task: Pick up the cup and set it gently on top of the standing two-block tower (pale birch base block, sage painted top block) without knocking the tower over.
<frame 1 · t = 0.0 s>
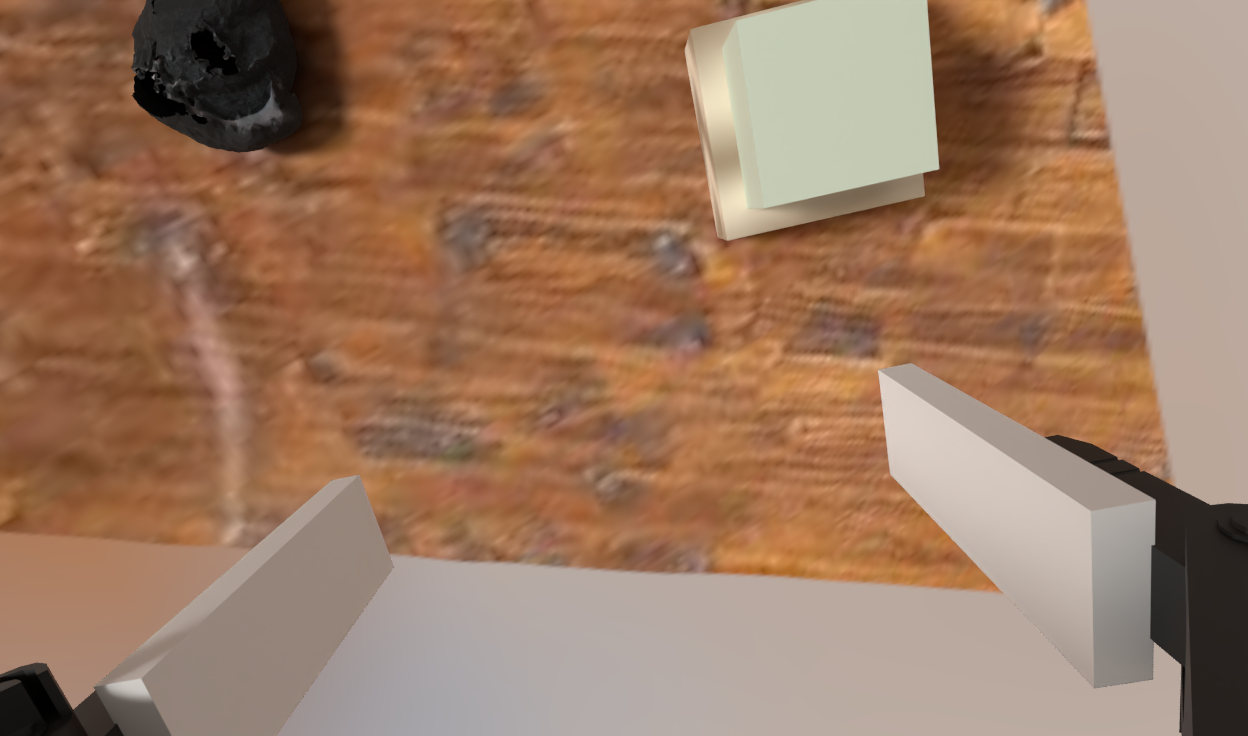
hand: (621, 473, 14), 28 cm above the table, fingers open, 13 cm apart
tower top: (811, 113, 33), point 5 cm above the table
rock: (239, 64, 38), on the table
tower base: (789, 127, 38), on the table
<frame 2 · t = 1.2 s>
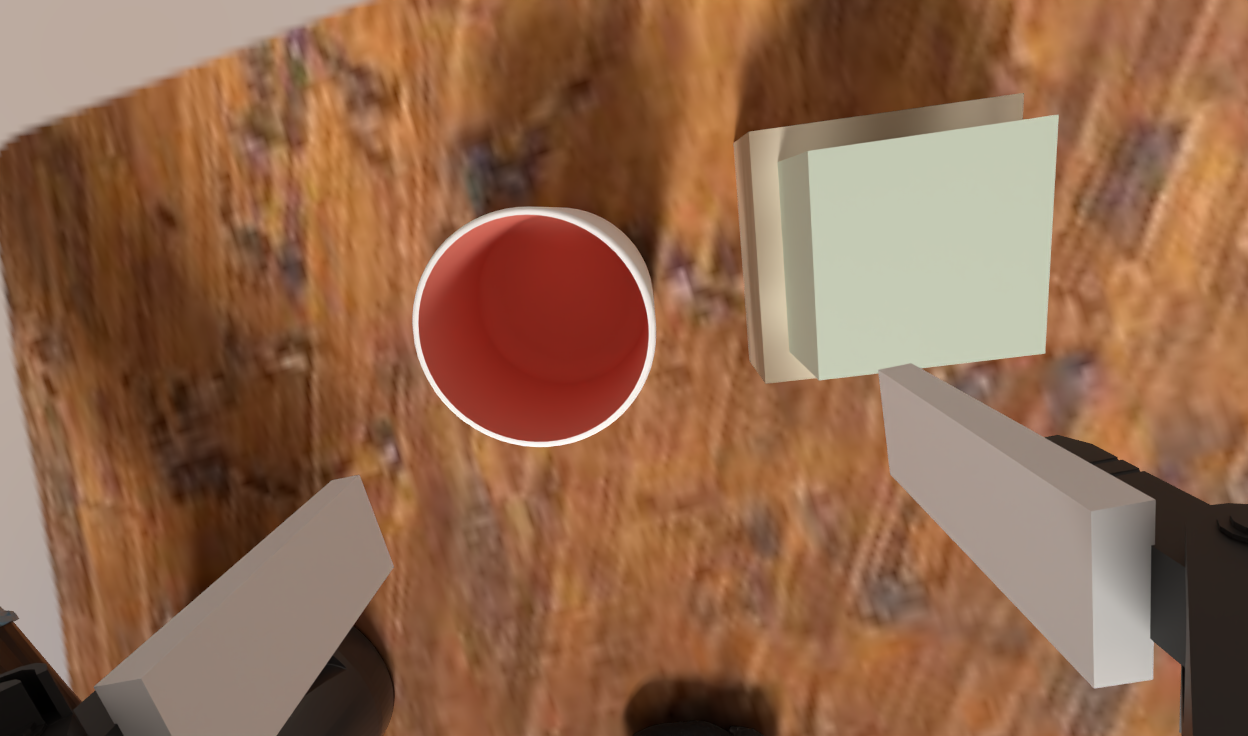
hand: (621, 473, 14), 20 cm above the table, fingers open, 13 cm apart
cup: (566, 297, 33), on the table
tower top: (879, 248, 27), point 5 cm above the table, touching tower base
tower base: (848, 242, 32), on the table, touching tower top
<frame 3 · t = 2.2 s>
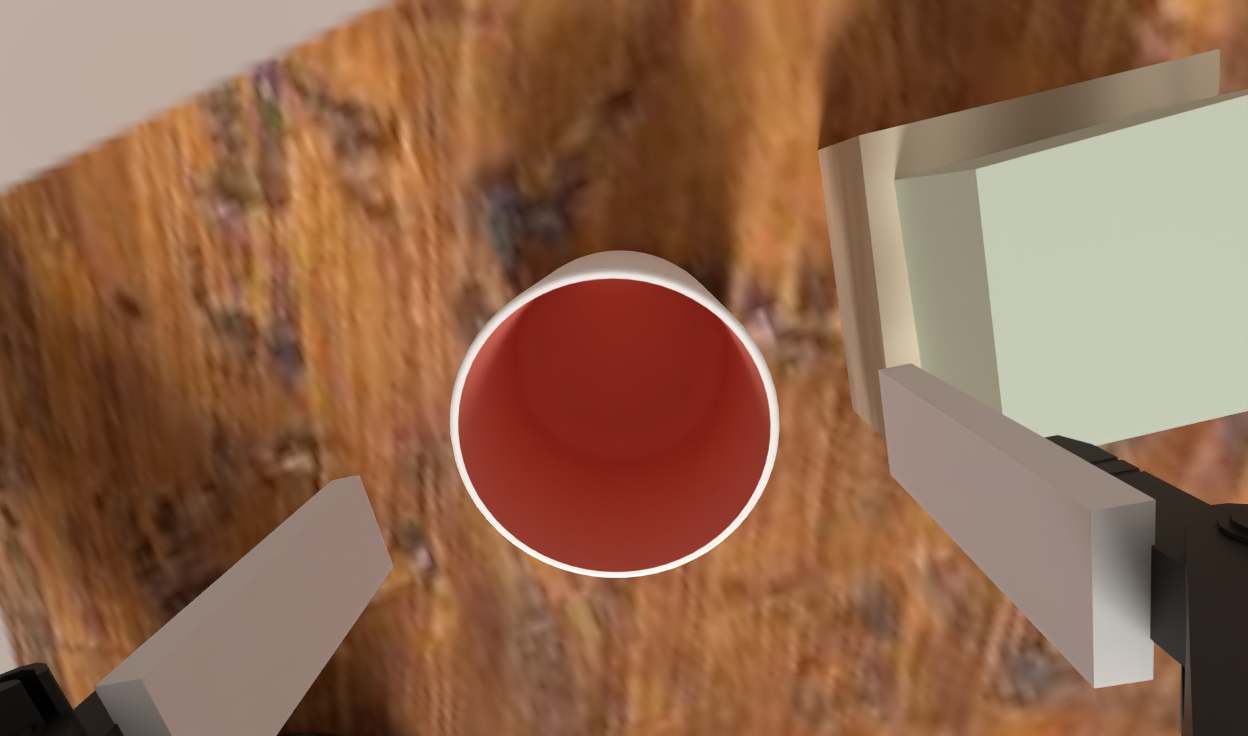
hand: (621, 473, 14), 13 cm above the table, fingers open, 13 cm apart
cup: (621, 356, 27), on the table
tower top: (1035, 270, 21), point 5 cm above the table
tower base: (966, 257, 26), on the table
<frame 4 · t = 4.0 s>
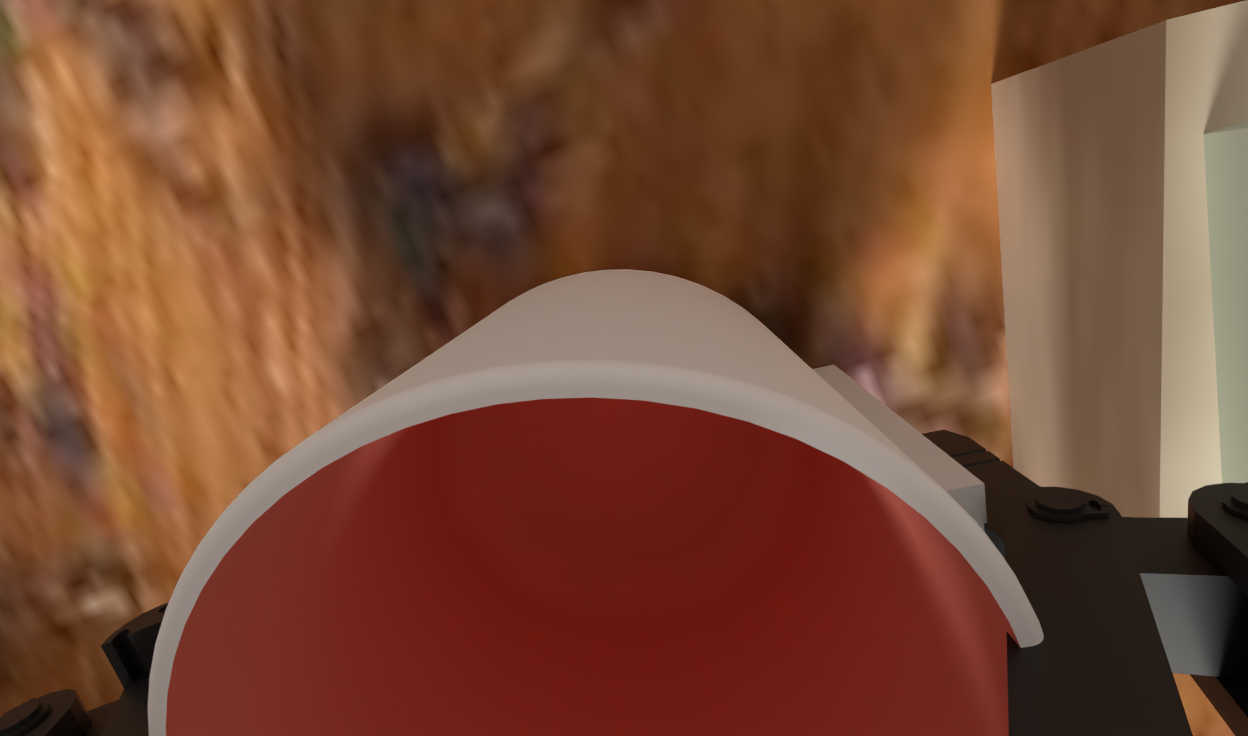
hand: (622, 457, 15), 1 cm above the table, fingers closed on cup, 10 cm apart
cup: (623, 443, 16), on the table, touching gripper
tower base: (1237, 278, 15), on the table, touching tower top
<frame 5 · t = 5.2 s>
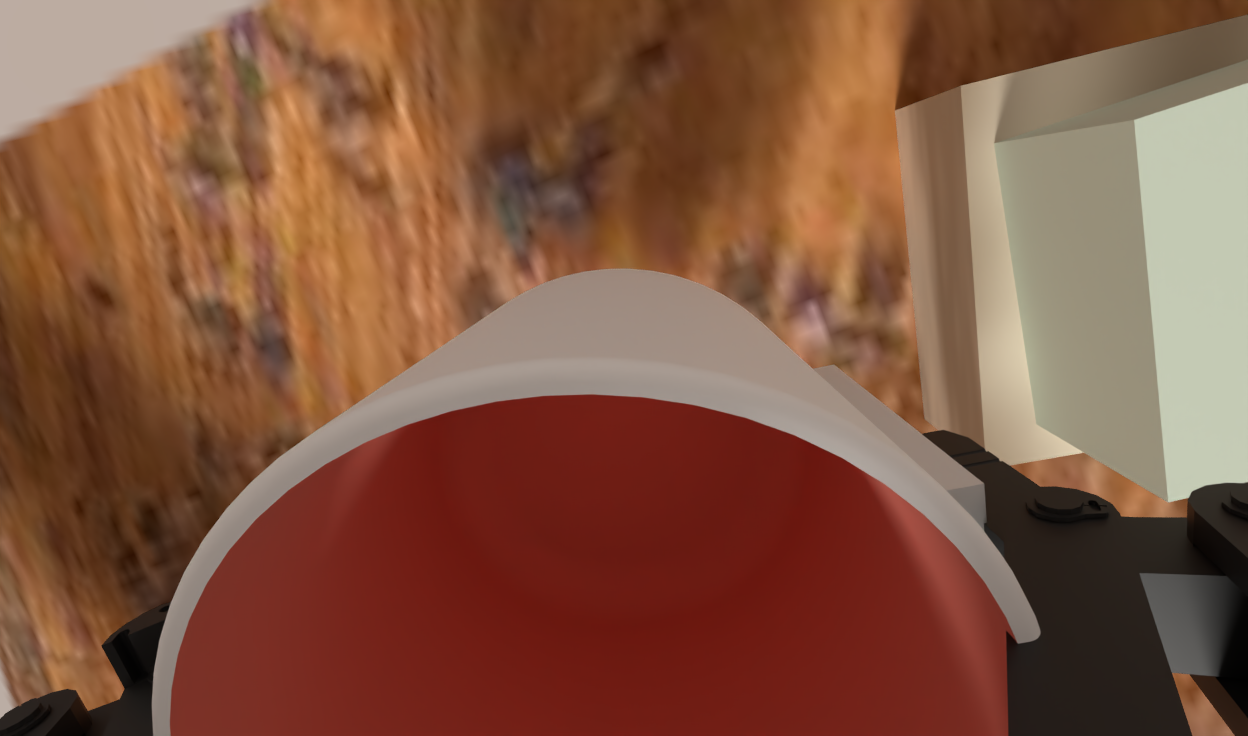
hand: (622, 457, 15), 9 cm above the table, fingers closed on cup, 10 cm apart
cup: (623, 442, 16), point 8 cm above the table, touching gripper
tower top: (1176, 246, 17), point 5 cm above the table, touching tower base
tower base: (1070, 239, 22), on the table, touching tower top
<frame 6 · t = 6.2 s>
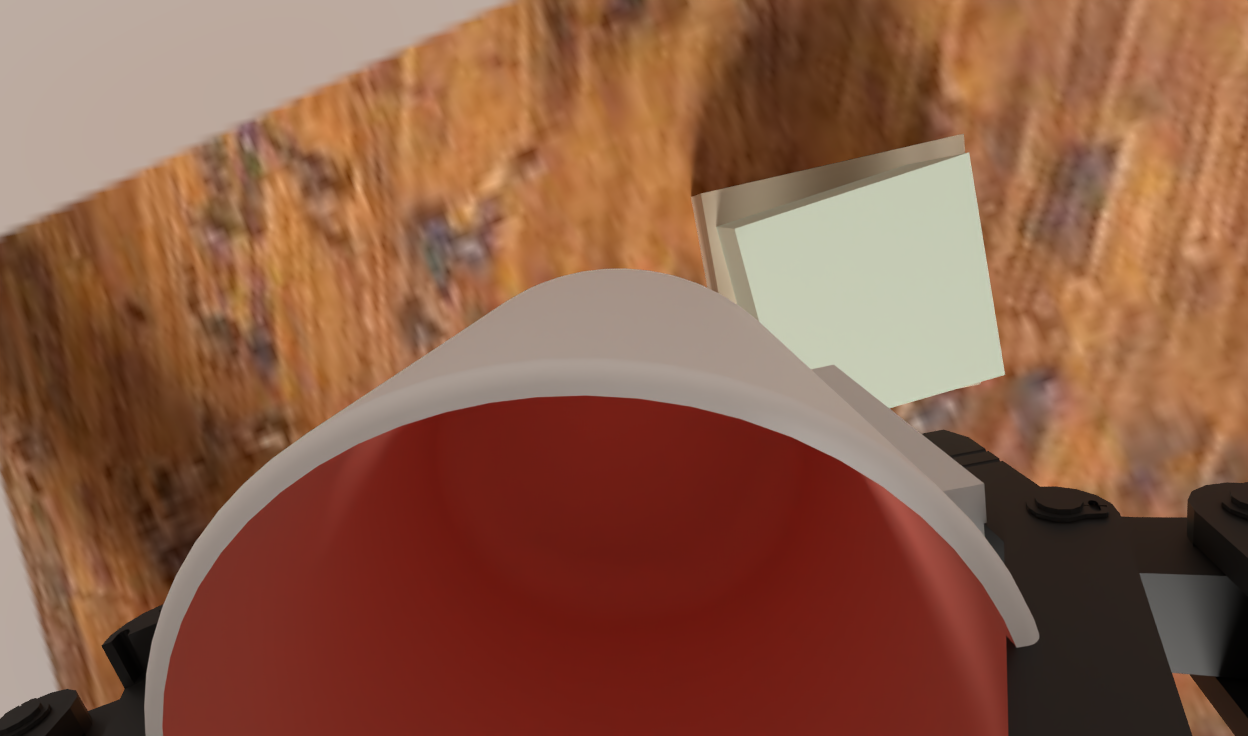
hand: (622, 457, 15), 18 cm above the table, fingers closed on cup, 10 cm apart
cup: (621, 442, 16), point 17 cm above the table, touching gripper
tower top: (831, 288, 28), point 5 cm above the table, touching tower base
tower base: (814, 281, 32), on the table, touching tower top
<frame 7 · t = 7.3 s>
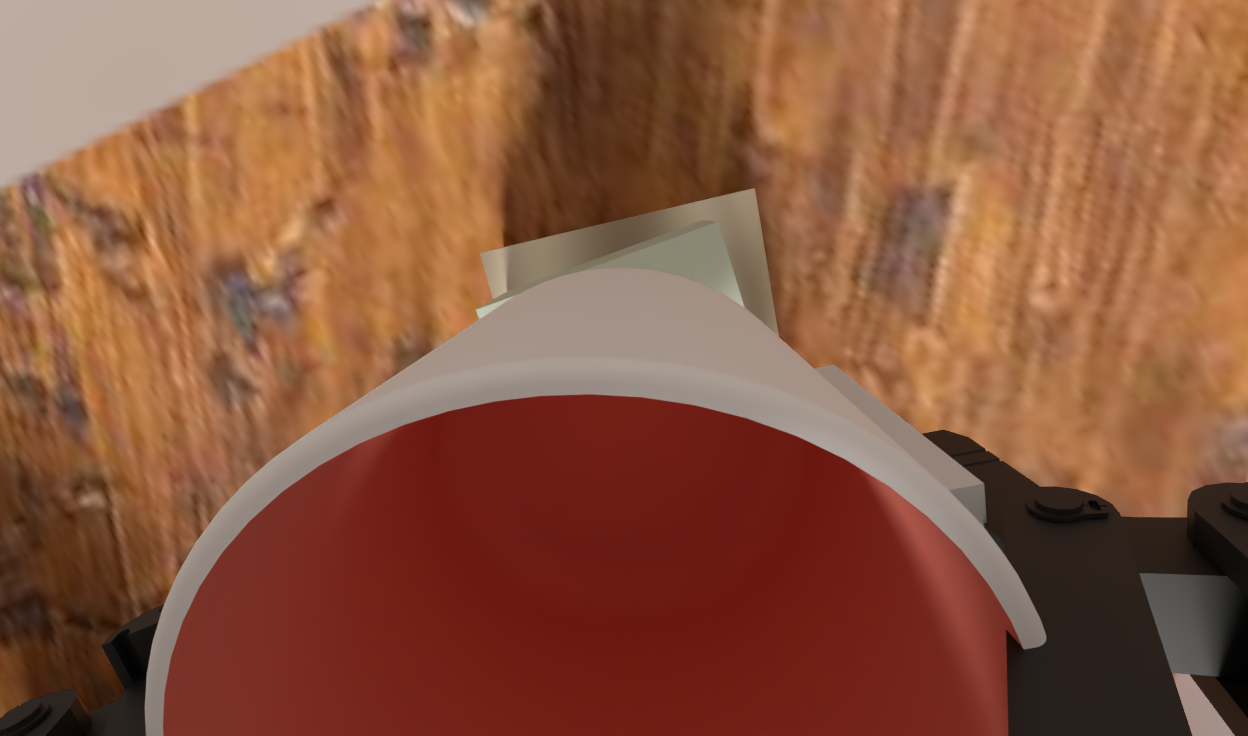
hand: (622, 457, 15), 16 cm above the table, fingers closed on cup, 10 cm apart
cup: (623, 442, 16), point 15 cm above the table, touching gripper
tower top: (637, 352, 26), point 5 cm above the table, touching tower base
tower base: (643, 332, 31), on the table, touching tower top
when the fingers open (12 cm above the table, at t = 8.7 s): cup drops 2 cm, resting on tower top.
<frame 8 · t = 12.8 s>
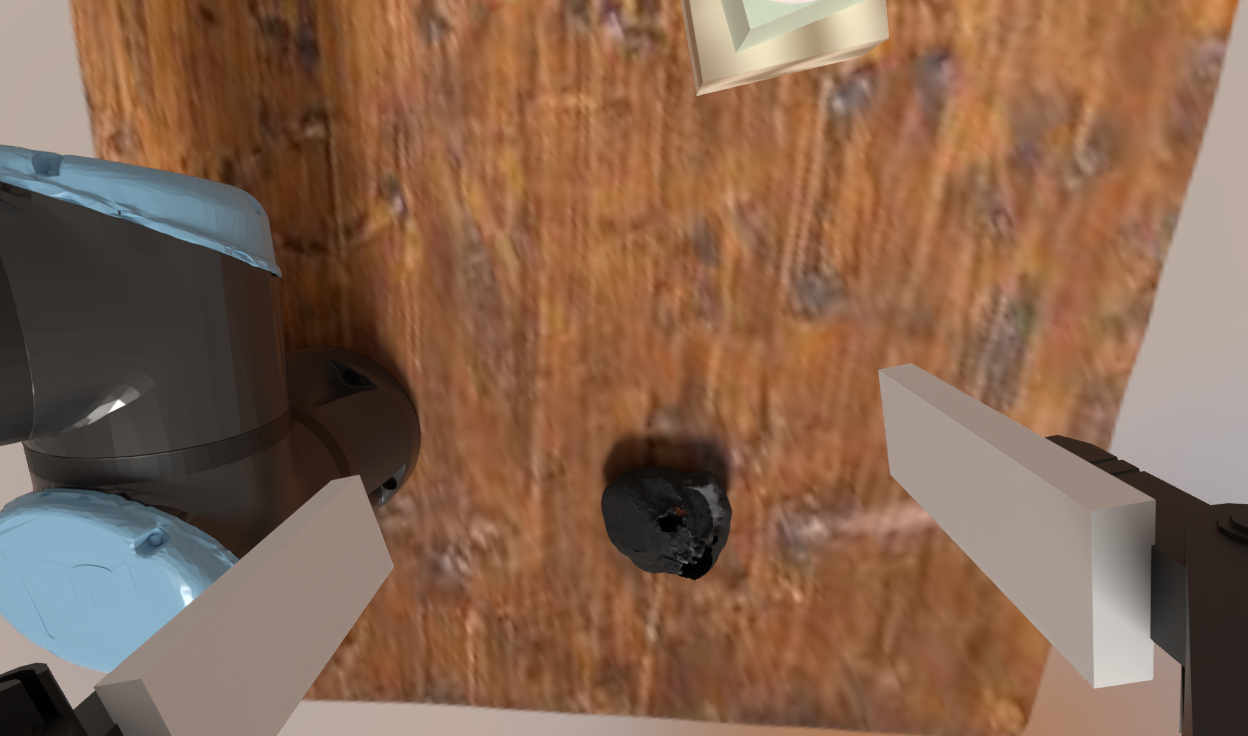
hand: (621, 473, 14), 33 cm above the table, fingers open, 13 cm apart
rock: (661, 508, 51), on the table
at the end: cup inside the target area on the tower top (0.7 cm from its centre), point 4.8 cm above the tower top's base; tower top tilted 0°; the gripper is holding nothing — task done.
